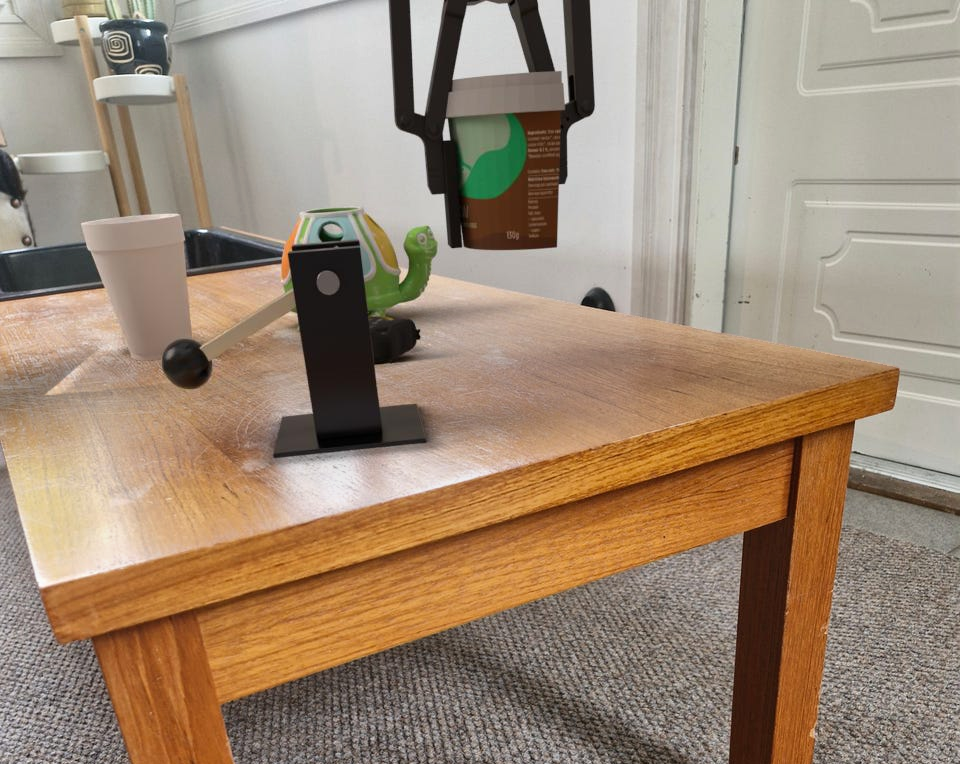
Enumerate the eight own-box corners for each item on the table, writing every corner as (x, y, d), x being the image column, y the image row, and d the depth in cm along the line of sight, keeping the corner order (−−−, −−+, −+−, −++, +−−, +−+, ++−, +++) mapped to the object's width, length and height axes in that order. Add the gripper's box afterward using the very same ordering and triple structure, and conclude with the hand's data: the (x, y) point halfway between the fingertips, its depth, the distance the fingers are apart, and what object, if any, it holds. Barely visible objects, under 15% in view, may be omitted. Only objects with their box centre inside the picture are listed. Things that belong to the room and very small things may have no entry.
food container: (426, 241, 68) (414, 86, 63) (503, 234, 69) (497, 83, 64) (477, 258, 58) (468, 74, 53) (565, 249, 59) (565, 70, 54)
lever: (178, 403, 59) (146, 360, 57) (186, 391, 61) (156, 350, 60) (361, 291, 57) (333, 243, 55) (360, 284, 59) (334, 238, 58)
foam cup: (97, 364, 92) (60, 226, 86) (147, 344, 100) (116, 216, 94) (179, 363, 90) (147, 221, 84) (223, 343, 98) (197, 212, 91)
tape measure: (391, 372, 81) (387, 329, 79) (325, 370, 83) (319, 328, 81) (422, 355, 86) (419, 314, 84) (359, 353, 89) (354, 313, 87)
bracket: (275, 471, 59) (237, 261, 52) (284, 432, 66) (251, 245, 60) (427, 455, 59) (407, 246, 53) (418, 418, 67) (400, 232, 61)
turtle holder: (449, 322, 100) (439, 204, 94) (285, 337, 98) (265, 218, 92) (438, 304, 111) (429, 197, 105) (290, 318, 109) (273, 209, 103)
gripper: (313, -208, 48) (368, 259, 59) (655, -223, 49) (645, 235, 61) (317, -166, 54) (366, 247, 66) (620, -181, 56) (616, 226, 67)
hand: (500, 241), depth 63 cm, fingers closed on food container, 6 cm apart
